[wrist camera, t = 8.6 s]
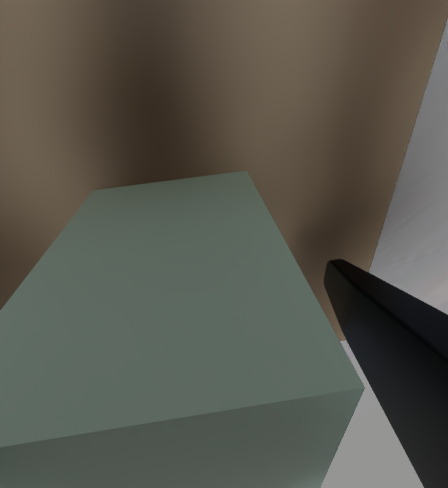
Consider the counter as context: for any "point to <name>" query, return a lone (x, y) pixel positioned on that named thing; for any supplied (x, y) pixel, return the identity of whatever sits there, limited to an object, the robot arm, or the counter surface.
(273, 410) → the sage block
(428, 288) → the counter surface
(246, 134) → the walnut base
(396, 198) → the counter surface
